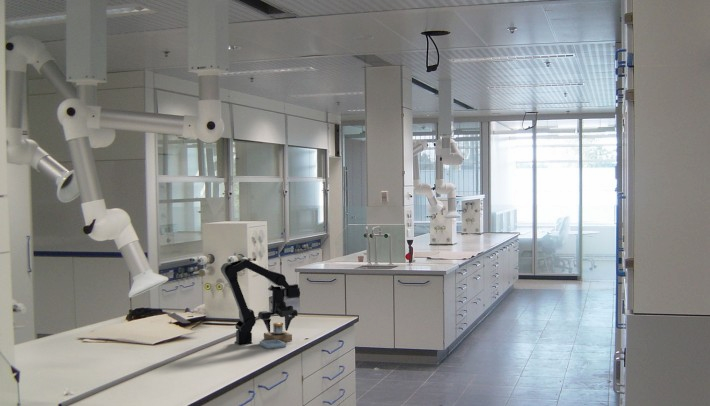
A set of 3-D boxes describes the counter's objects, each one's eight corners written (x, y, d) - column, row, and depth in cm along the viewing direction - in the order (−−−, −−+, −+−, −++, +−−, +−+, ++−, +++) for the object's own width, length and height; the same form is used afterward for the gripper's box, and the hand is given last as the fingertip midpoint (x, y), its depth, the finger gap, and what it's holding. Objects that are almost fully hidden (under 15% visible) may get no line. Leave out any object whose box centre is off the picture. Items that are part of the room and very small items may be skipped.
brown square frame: (273, 343, 345) (273, 336, 345) (263, 339, 354) (263, 332, 354) (291, 340, 351) (291, 334, 351) (282, 336, 359) (282, 330, 359)
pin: (275, 341, 349) (275, 324, 349) (271, 339, 353) (271, 323, 353) (284, 340, 351) (284, 323, 351) (280, 338, 356) (280, 322, 355)
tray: (268, 349, 333) (268, 345, 333) (259, 345, 340) (259, 341, 340) (285, 346, 338) (285, 343, 338) (276, 343, 345) (276, 339, 345)
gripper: (268, 303, 340) (267, 336, 340) (303, 300, 350) (303, 332, 350) (257, 299, 349) (257, 332, 350) (292, 296, 359) (292, 328, 360)
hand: (277, 331), depth 352 cm, fingers open, 9 cm apart
